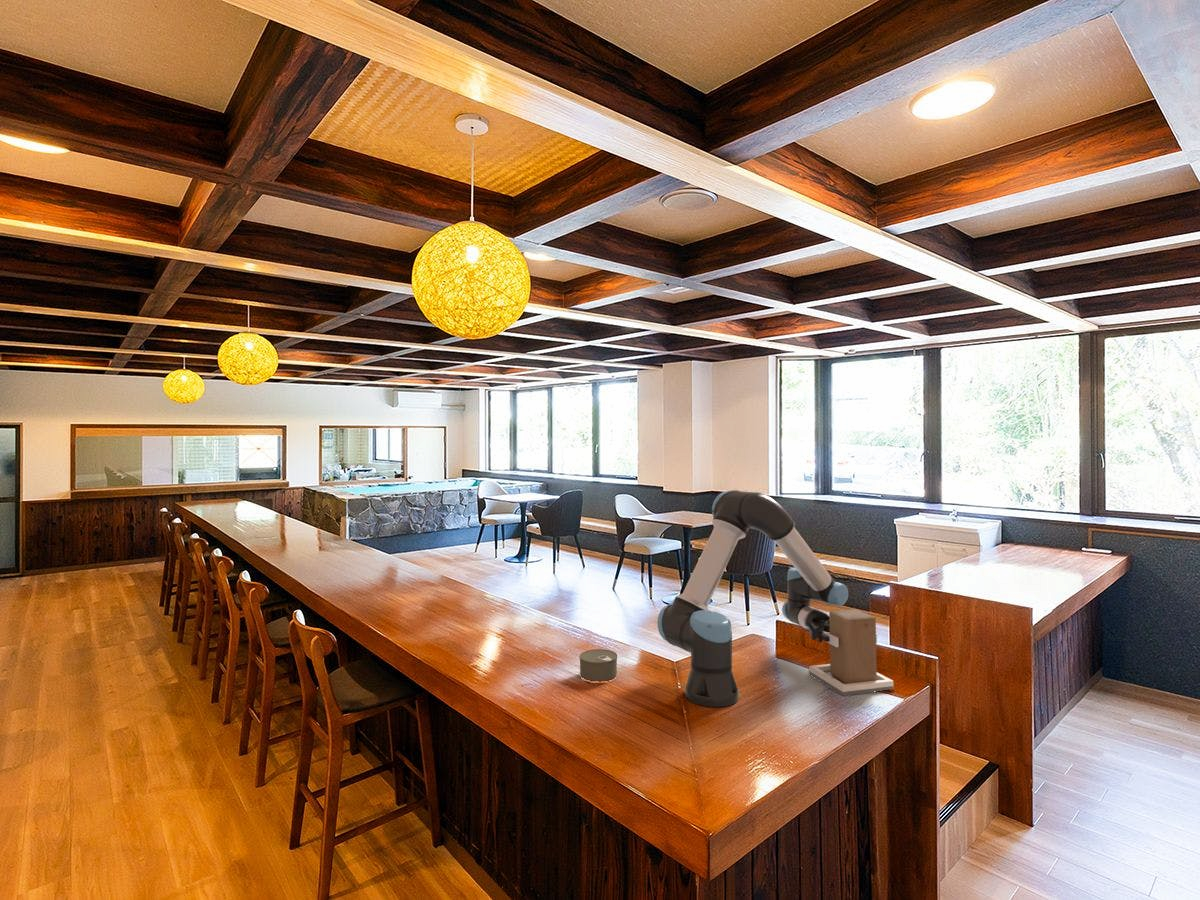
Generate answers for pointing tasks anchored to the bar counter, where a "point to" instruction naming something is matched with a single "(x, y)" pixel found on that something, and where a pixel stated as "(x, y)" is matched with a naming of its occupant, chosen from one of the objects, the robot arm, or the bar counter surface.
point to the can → (598, 665)
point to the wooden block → (853, 646)
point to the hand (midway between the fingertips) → (856, 640)
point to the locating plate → (849, 689)
